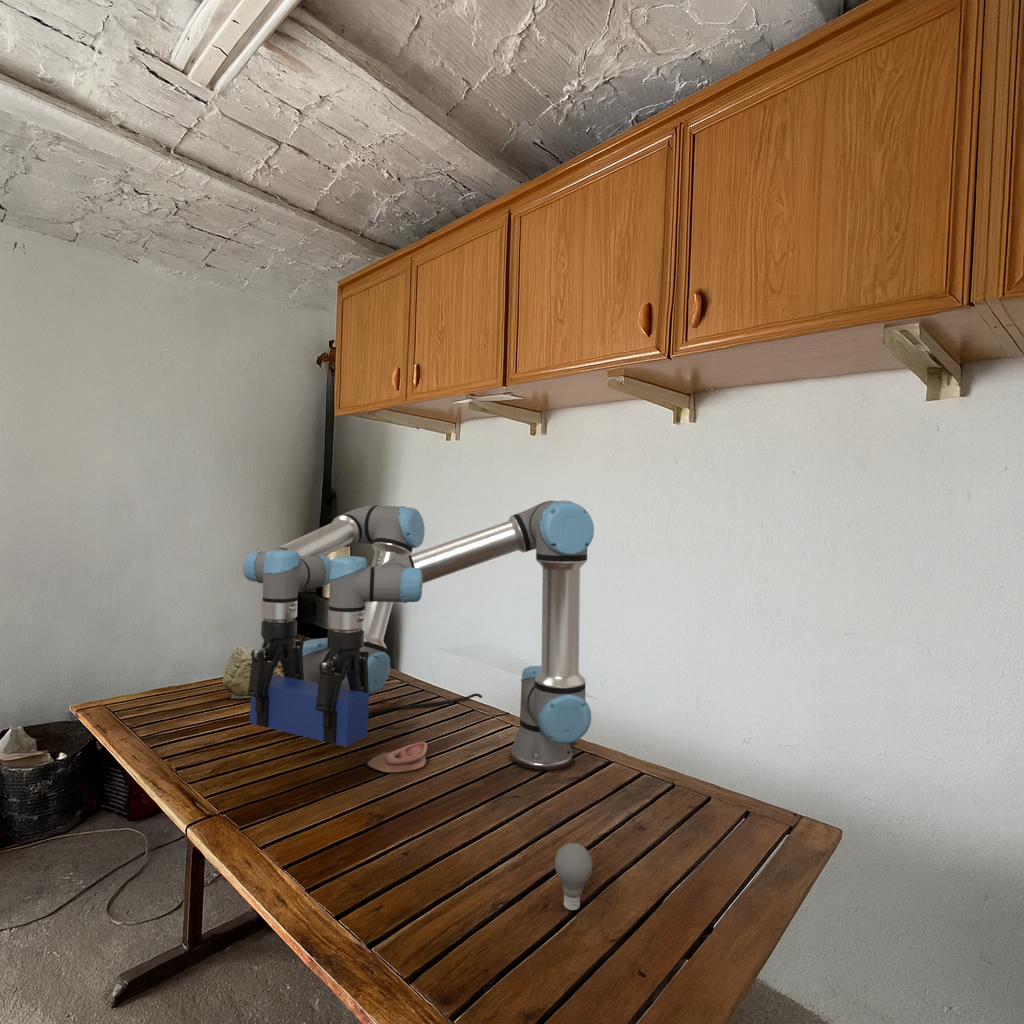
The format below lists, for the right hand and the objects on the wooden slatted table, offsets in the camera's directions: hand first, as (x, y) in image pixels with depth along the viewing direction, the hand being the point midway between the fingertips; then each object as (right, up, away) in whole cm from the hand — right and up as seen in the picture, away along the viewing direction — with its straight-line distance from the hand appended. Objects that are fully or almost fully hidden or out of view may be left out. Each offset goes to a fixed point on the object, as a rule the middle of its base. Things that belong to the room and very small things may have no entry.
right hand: (342, 735), depth 135 cm
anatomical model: (+9, -13, +16) cm, 23 cm away
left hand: (-17, +1, +8) cm, 19 cm away
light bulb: (+46, -15, -35) cm, 60 cm away
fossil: (-44, -9, +63) cm, 77 cm away
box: (-9, 0, +4) cm, 9 cm away
